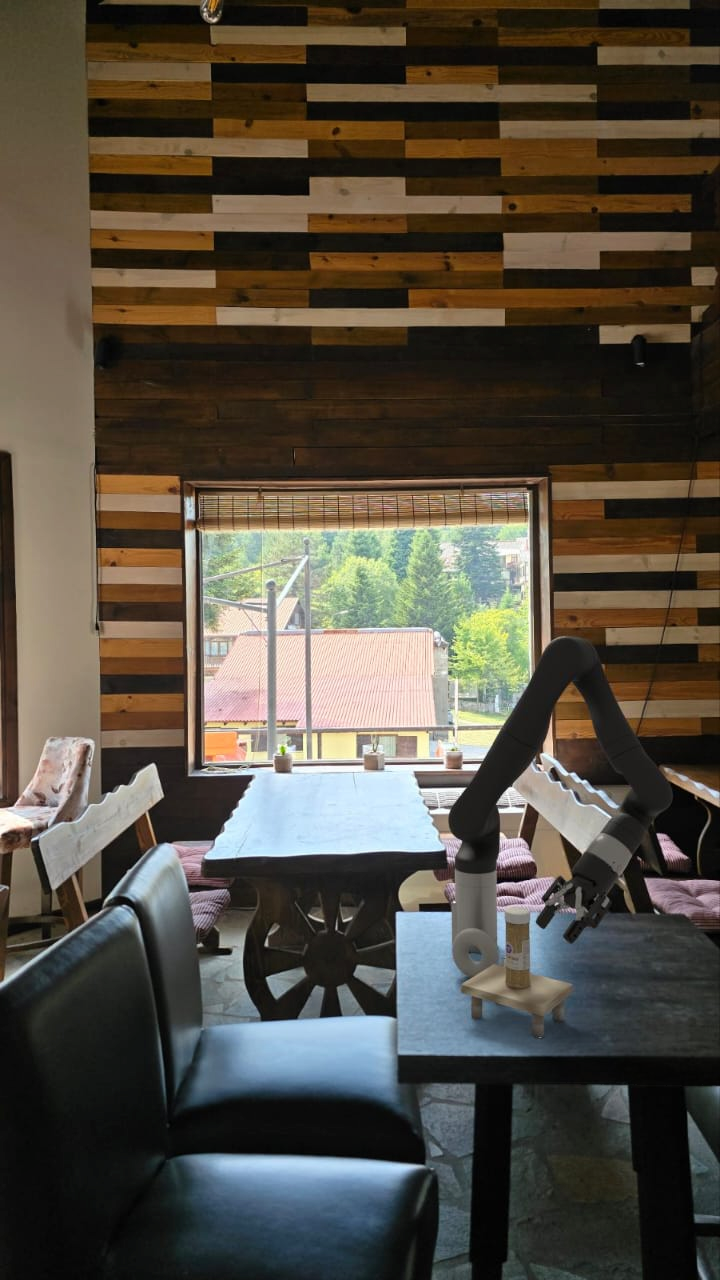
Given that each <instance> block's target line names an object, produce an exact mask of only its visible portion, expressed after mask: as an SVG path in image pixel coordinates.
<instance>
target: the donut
mask: <svg viewBox="0 0 720 1280" xmlns="http://www.w3.org/2000/svg"><path fill="white" fill-rule="evenodd" d="M470 946H476V947H477V948H479V950H480V951H481V953H480V954H481V959H480V961H475V960H474V959H472V957H471V956H470V954H469V952H468V950H469V947H470ZM451 952H452V953H451V954H452V959H453V962H454V964H455V966H456V967H457V969H458V970H459V972H460V973H462V974H463V975H464V976H465V977H468V978H469V979H471V978H472V977H474V976H476V975H477V974H479V973H480V972H482V971H484V970H485V969H487V968H488V967H490V966H492V965H493V964H495V965H499V959H500V956H499V949H498V946H497V947H496V944H495V942H494V941H493V940H492V938H491V937H490V936H489V935H488V934H486V933H485V932H484V931H482V930H479V929H476V928H469V929H466V930H463V931H461V932H460V933H459V934H458V935H457V936H456V938H455V940H454V942H453V945H452V948H451Z"/></svg>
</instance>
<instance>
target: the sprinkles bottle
mask: <svg viewBox="0 0 720 1280" xmlns="http://www.w3.org/2000/svg"><path fill="white" fill-rule="evenodd" d="M504 923H505V948H504V952H505V955H504V956H505V957H504V958H505V965H506V979H505V983H506V984H507V986H509V987H512V988H516V989H523V988H526V987H528V986H530V971H531V969H530V968H531V938H530V925H531V924H530V923H531V911H530V909H528V908H526V907H523V906H509V907H506V908H505V909H504Z"/></svg>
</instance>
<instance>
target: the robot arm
mask: <svg viewBox="0 0 720 1280" xmlns="http://www.w3.org/2000/svg"><path fill="white" fill-rule="evenodd" d="M600 659H601V658H600V656H599V654H598V652H597V650H596V648H595V646H594V645H593V644H592V643H591V642H590V641H589V640H588V639H585V638H582V637H576V636H569V635H563V636H558V637H556V638H554V639H552V640H551V641H550V642H549V643H548V644H547V645H546V647H545V648H544V650H543V652H542V654H541V656H540V658H539V660H538V662H537V665H536V666H535V669H534V671H533V673H532V675H531V677H530V680H529V682H528V683H527V686H526V688H525V690H524V691H523V692H522V694H521V696H520V697H519V699H518V700H517V702H516V704H515V705H514V708H513V709H512V710H511V712H510V714H509V716H508V717H507V719H505V722H504V723H503V725H502V726H501V728H500V730H499V732H498V733H497V735H496V737H495V739H494V741H493V743H492V744H491V746H490V748H489V749H488V751H487V752H486V755H485V756H484V758H483V760H482V761H481V764H480V766H479V767H478V770H477V771H476V773H475V774H474V775H473V777H472V779H471V780H470V781H469V784H468V785H467V786H466V788H465V789H464V790H463V792H461V794H460V795H459V797H458V798H457V799H456V801H455V802H454V803H453V804H452V806H451V807H450V810H449V813H448V819H447V820H448V828H449V830H450V833H451V834H452V836H454V838H456V839H458V840H460V841H461V843H460V846H459V849H458V851H457V852H456V854H455V857H454V899H455V900H453V901H452V902H451V945H452V946H453V942H454V940H455V938H456V936H457V935H458V934H459V933H460V932H461V931H463V930H466V929H469V928H476V929H479V930H482V931H484V932H485V933H486V934H488V935H489V936H490V937H491V938H492V940H493V941H494V942H495V944H496V947H497V948H498V897H497V896H498V895H497V894H498V892H497V889H498V887H497V883H498V882H497V862H498V858H499V856H500V850H501V849H500V848H501V847H500V844H501V841H500V840H501V816H500V810H499V808H498V806H497V803H498V802H499V800H500V799H501V798H502V796H503V795H504V794H505V792H506V791H507V790H508V789H509V788H510V787H511V786H512V785H513V784H514V783H515V782H516V781H517V780H518V779H519V778H520V777H521V776H522V775H523V774H524V773H525V771H527V770H528V768H529V767H530V765H532V763H533V761H534V760H535V758H536V757H537V755H538V753H539V752H540V750H541V749H542V747H543V746H544V743H545V741H546V739H547V737H548V734H549V729H550V725H551V720H552V715H553V711H554V709H555V706H556V704H557V703H558V701H559V700H560V698H561V696H562V695H563V694H564V692H565V691H566V689H567V688H568V687H569V685H570V684H571V683H572V685H574V687H575V688H576V689H577V691H578V692H579V693H580V695H581V697H582V698H583V700H584V702H585V704H586V707H587V710H588V712H589V716H590V719H591V723H592V728H593V731H594V734H595V737H596V740H597V742H598V743H599V746H600V748H601V749H602V752H603V753H604V755H605V757H606V758H607V760H608V762H609V764H610V765H611V767H612V768H613V770H614V771H615V772H616V773H617V774H621V775H623V776H624V778H625V780H626V781H627V782H628V784H629V786H630V788H629V790H628V792H627V793H626V794H625V796H624V797H623V799H622V801H621V802H620V804H619V805H618V808H617V810H616V812H615V813H614V814H613V815H612V816H611V818H610V819H609V820H608V822H607V823H606V824H605V826H604V827H603V828H602V830H600V833H598V835H597V836H596V837H595V838H594V839H593V840H592V841H591V842H590V844H589V845H588V846H587V848H586V849H585V851H584V852H583V853H582V855H581V856H580V858H579V859H578V861H577V862H575V864H574V866H573V867H572V877H571V878H570V879H569V880H566V879H565V878H564V877H563V876H562V875H559V876H557V877H556V879H555V880H554V881H553V882H552V884H551V885H550V886H549V887H548V889H547V890H546V891H545V893H543V895H542V896H541V900H542V901H543V903H544V907H543V909H542V911H541V912H540V913H539V915H537V917H536V920H535V924H536V925H537V926H538V927H539V928H540V929H543V930H545V929H546V928H547V927H548V926H549V924H550V922H551V921H552V920H553V918H554V917H555V915H556V914H557V913H558V912H560V911H561V910H567V909H569V908H571V909H574V910H576V914H575V915H576V916H575V919H573V920H572V922H570V924H569V926H568V927H567V929H566V930H565V932H564V933H563V934H562V938H563V939H564V940H565V941H566V942H567V943H568V944H571V945H572V944H574V942H576V941H577V940H578V939H579V936H580V935H581V934H582V933H583V932H584V929H588V928H589V927H590V928H592V929H596V928H597V927H598V926H599V924H600V923H601V921H602V919H603V918H604V916H606V913H607V912H608V910H609V909H610V907H611V906H612V901H611V899H609V897H608V896H607V895H608V894H609V892H610V890H612V888H613V886H614V885H615V884H616V882H617V881H618V879H619V878H620V877H621V875H622V874H623V872H624V871H625V869H627V868H626V867H627V866H628V865H629V862H630V860H631V858H632V857H633V855H634V853H636V851H637V849H638V848H639V847H640V845H641V844H642V842H643V841H644V838H645V836H646V831H647V830H648V829H649V827H650V826H651V824H652V823H653V822H654V820H655V819H656V817H658V816H659V814H660V813H663V812H664V811H665V810H667V809H668V808H669V807H670V806H671V804H672V803H673V798H674V795H673V790H672V786H671V783H670V782H669V781H668V779H667V777H666V776H665V774H664V773H663V772H662V771H661V769H660V768H659V767H658V766H657V765H656V763H655V762H654V761H653V760H652V759H651V757H649V756H648V754H647V753H646V752H645V749H644V748H643V746H642V744H641V742H640V741H639V739H638V737H637V735H636V734H635V732H634V730H633V729H632V726H631V725H630V723H629V721H628V720H627V718H626V716H625V715H624V712H623V710H622V709H621V707H620V705H619V703H618V701H617V699H616V696H615V694H614V692H613V690H612V687H611V685H610V683H609V680H608V677H607V675H606V672H605V670H604V667H603V664H602V662H601V660H600ZM551 895H553V897H551ZM595 914H596V915H595ZM594 916H595V917H594ZM468 952H470V953H478V954H479V953H480V954H481V951H480V950H479V948H477V947H476V946H470V947H469V950H468Z"/></svg>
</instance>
